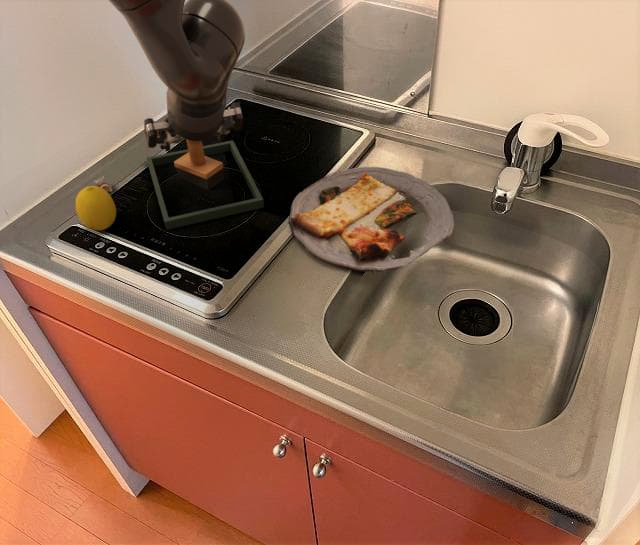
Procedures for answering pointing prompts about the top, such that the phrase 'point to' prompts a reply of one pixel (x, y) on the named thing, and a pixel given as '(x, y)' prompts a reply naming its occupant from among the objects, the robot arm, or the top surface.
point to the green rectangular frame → (212, 212)
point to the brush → (199, 167)
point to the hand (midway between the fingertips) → (193, 139)
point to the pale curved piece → (104, 185)
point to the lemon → (95, 208)
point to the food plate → (354, 203)
